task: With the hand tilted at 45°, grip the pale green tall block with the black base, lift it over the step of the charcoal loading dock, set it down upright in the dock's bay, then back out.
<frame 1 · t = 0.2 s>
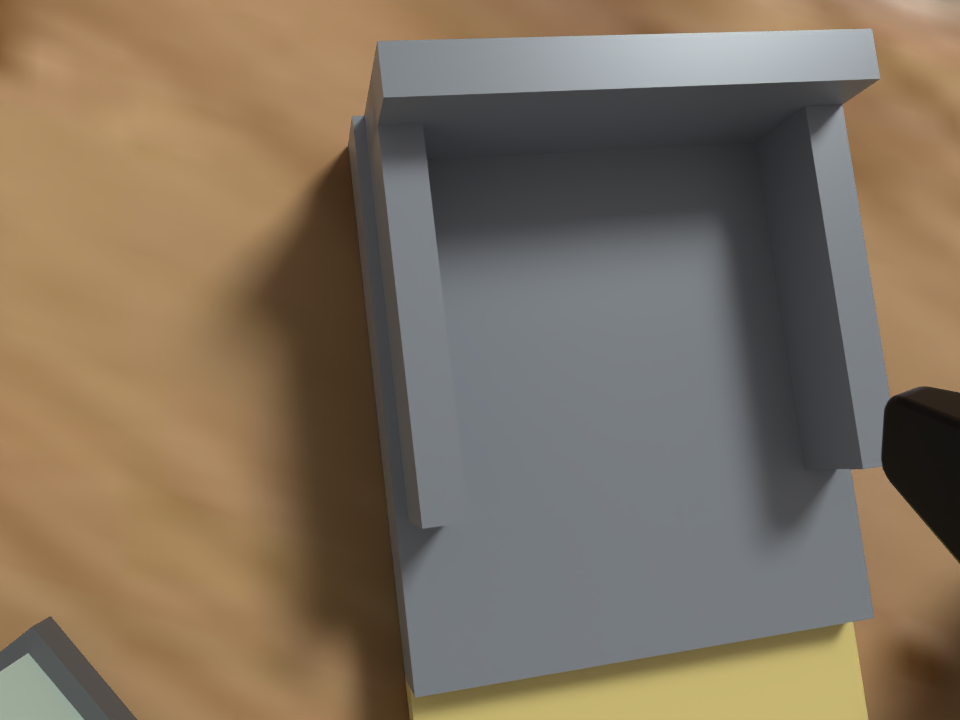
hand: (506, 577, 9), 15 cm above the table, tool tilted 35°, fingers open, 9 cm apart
dock: (594, 380, 25), on the table
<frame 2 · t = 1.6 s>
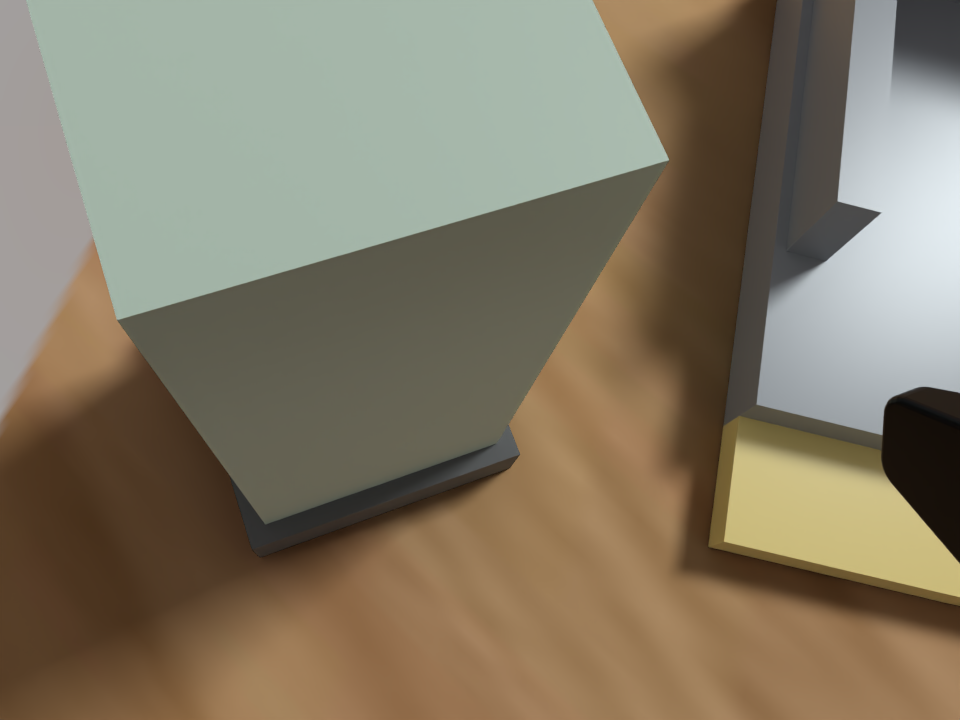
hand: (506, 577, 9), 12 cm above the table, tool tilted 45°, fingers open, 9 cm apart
pale green tall block: (347, 391, 21), on the table
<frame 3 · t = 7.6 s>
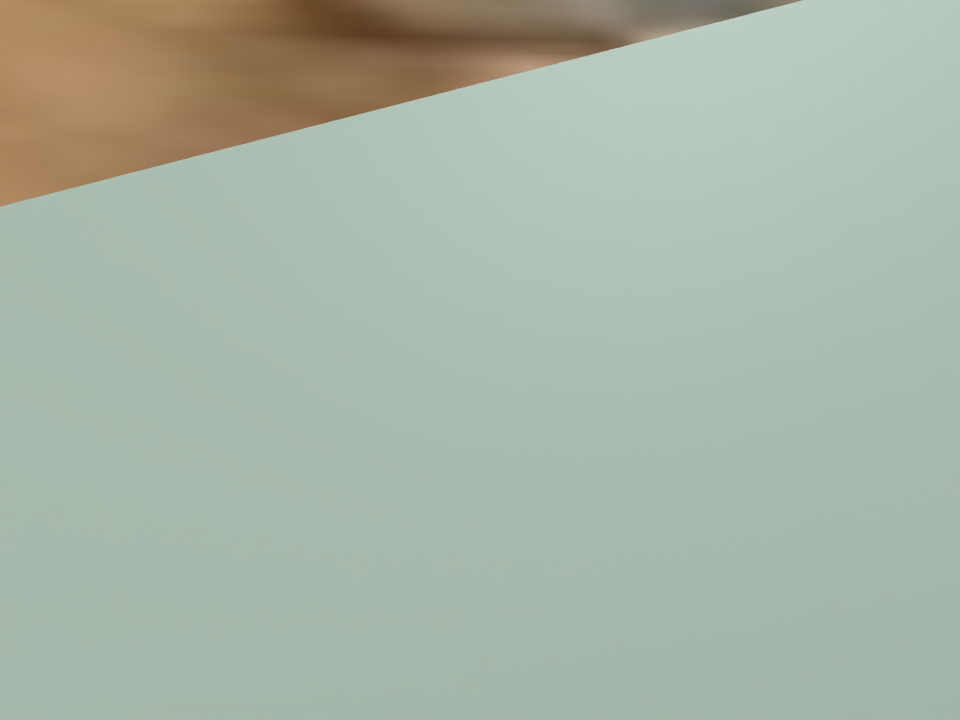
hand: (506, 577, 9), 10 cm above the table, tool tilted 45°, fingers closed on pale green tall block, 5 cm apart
pale green tall block: (470, 687, 15), point 3 cm above the table, touching gripper
when the fingers open (9 cm above the table, at t = 8.4 s): pale green tall block stays where it is, resting on dock.
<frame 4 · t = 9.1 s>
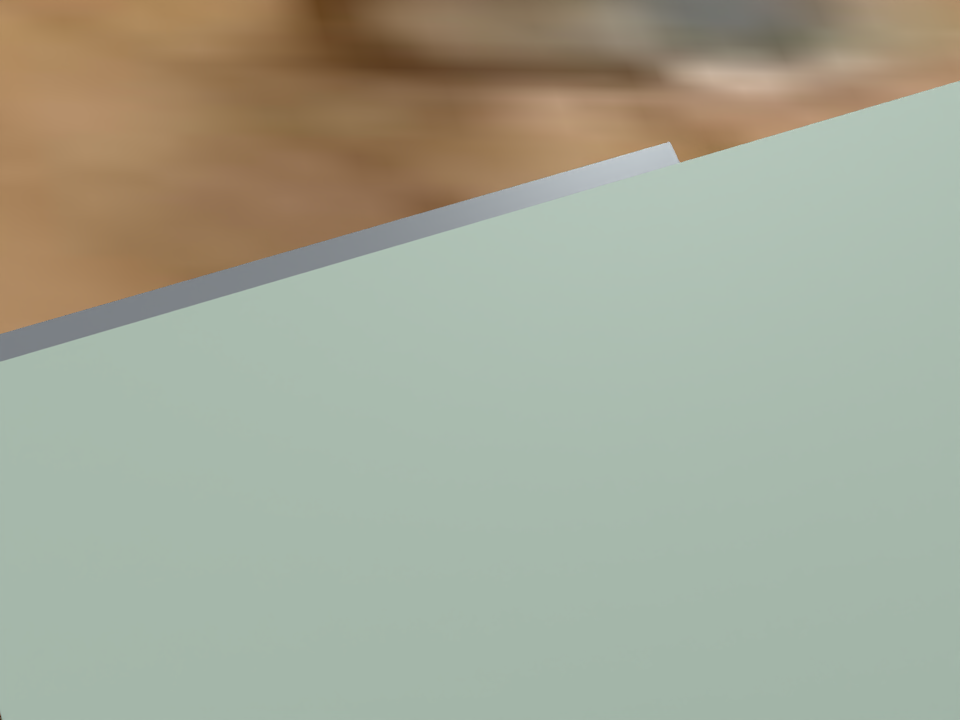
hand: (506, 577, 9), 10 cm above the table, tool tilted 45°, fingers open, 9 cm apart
pale green tall block: (472, 694, 16), point 2 cm above the table, touching dock
dock: (458, 686, 18), on the table
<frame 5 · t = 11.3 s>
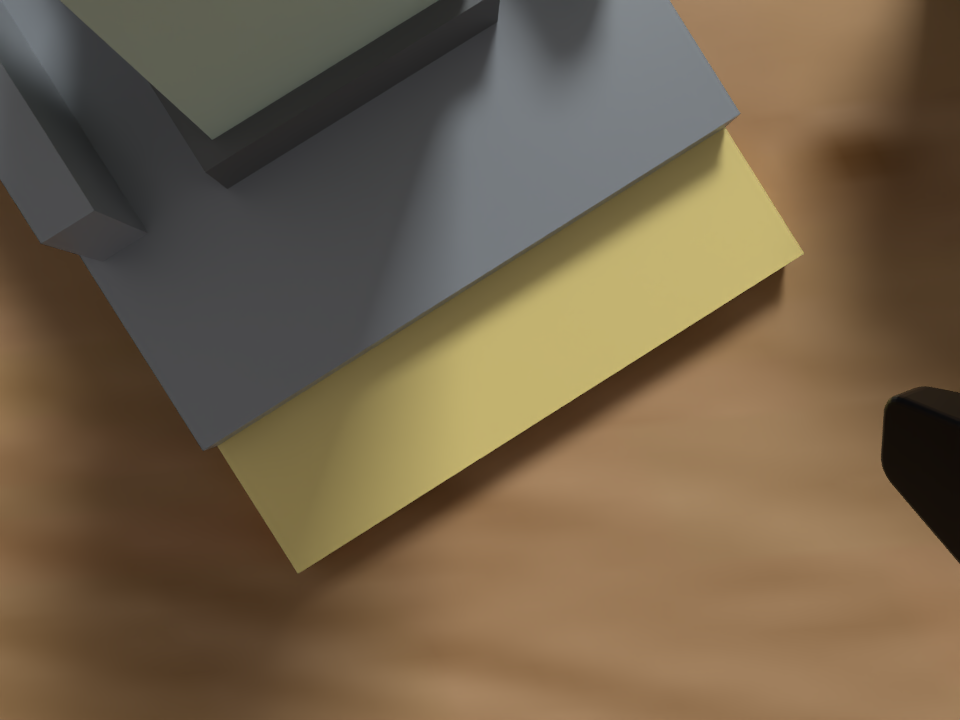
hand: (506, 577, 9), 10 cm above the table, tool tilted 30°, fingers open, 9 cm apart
dock: (295, 8, 19), on the table
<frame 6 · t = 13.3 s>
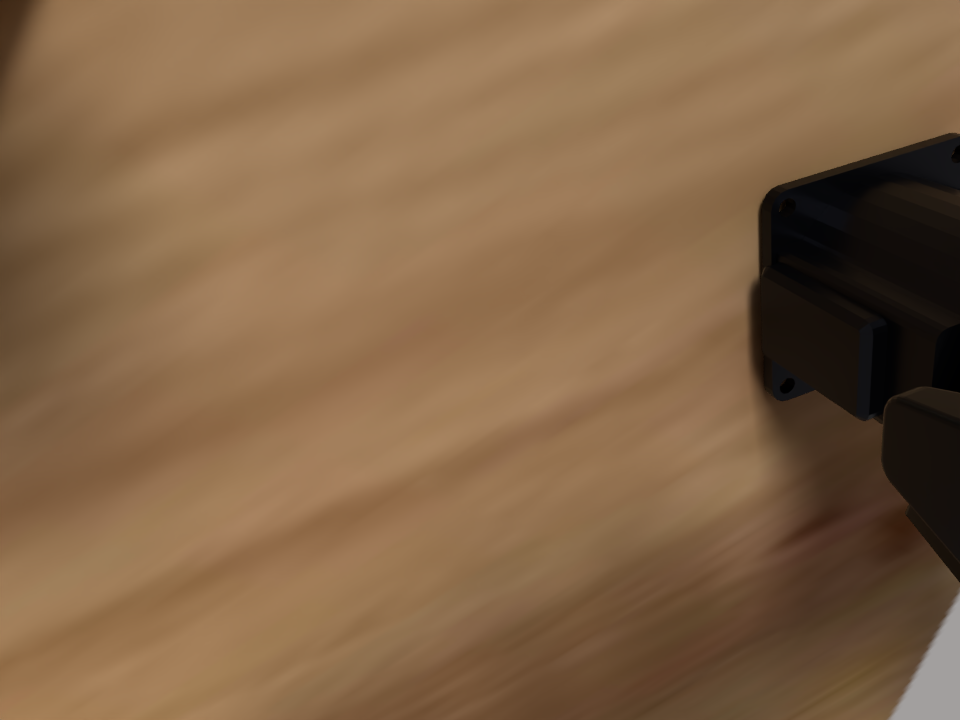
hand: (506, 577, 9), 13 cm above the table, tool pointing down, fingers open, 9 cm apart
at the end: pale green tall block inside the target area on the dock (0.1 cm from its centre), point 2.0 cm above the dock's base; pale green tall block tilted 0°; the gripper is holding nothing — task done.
